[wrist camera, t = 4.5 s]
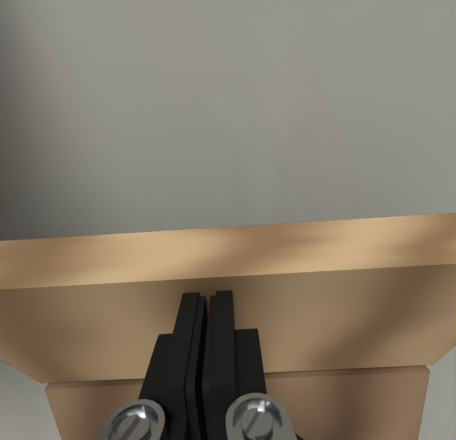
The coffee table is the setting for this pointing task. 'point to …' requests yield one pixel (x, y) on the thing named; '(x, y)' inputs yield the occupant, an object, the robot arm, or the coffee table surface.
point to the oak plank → (242, 294)
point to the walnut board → (287, 395)
